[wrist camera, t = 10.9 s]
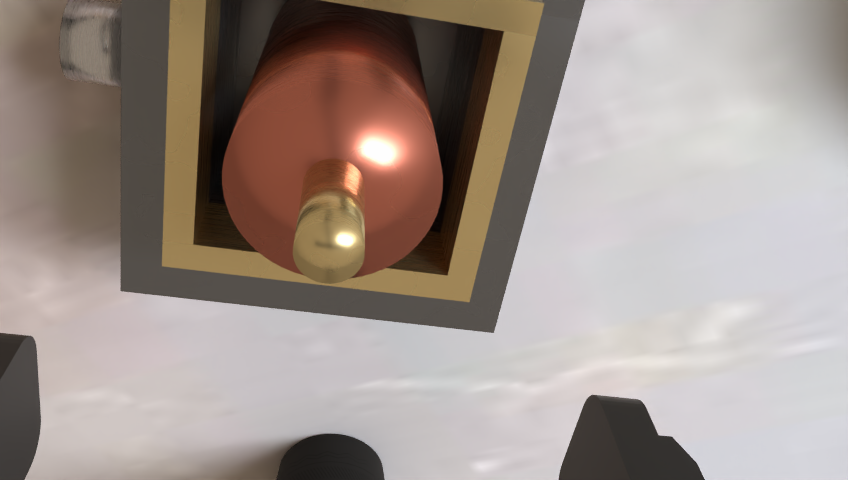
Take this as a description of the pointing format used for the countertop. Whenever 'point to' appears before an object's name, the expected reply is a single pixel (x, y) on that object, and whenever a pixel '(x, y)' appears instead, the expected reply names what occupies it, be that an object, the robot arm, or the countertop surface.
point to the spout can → (334, 144)
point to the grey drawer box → (220, 107)
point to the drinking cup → (331, 460)
